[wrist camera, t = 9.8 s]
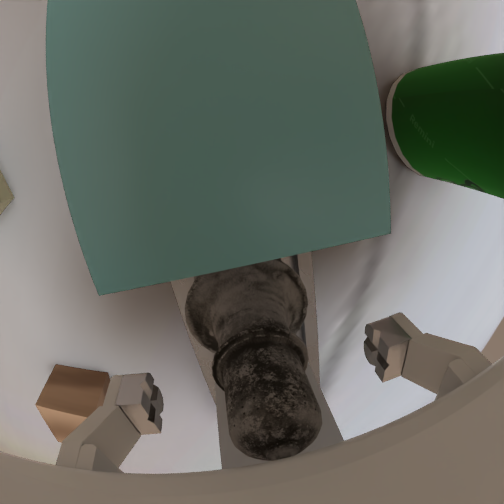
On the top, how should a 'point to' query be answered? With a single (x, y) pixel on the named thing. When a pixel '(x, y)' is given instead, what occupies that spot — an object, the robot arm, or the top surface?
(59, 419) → the block walnut
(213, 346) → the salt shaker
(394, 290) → the top surface
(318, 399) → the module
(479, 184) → the soda can
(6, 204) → the block olive
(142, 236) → the block
